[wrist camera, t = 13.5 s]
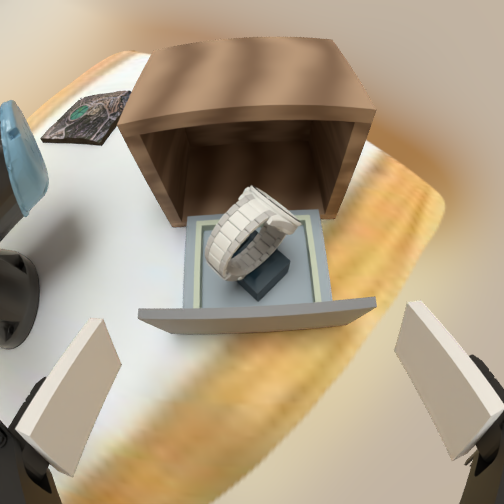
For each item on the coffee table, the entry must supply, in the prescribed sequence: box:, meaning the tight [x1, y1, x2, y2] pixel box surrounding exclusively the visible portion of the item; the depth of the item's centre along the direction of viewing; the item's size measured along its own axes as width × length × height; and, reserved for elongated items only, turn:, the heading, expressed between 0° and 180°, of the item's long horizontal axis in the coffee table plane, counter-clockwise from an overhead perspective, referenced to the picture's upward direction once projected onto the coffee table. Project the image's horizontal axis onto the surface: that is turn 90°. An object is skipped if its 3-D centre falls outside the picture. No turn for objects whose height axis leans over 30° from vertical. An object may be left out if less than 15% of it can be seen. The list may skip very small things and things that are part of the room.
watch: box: [205, 186, 301, 302], centre depth 24 cm, size 6×8×11 cm
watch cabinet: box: [117, 37, 376, 227], centre depth 29 cm, size 20×14×17 cm
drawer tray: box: [138, 209, 377, 334], centre depth 26 cm, size 18×13×8 cm
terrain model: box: [40, 91, 132, 146], centre depth 45 cm, size 20×15×3 cm
